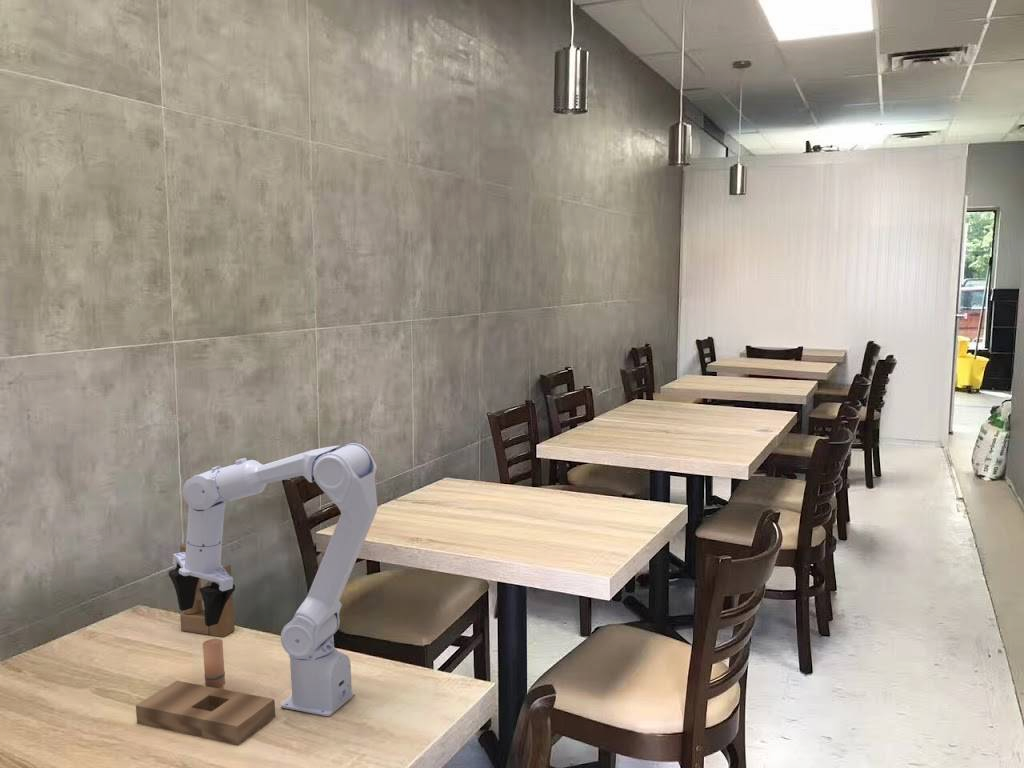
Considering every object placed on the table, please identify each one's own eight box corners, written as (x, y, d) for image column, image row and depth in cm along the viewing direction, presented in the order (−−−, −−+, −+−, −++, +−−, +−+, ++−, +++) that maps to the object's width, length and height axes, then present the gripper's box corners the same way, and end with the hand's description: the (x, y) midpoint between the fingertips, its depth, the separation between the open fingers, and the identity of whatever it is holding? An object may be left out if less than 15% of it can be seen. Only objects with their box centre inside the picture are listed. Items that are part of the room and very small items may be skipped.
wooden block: (223, 638, 167) (218, 550, 165) (180, 631, 170) (174, 545, 168) (235, 630, 170) (230, 545, 168) (193, 624, 174) (187, 540, 172)
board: (275, 716, 135) (274, 699, 135) (238, 745, 127) (237, 726, 126) (178, 697, 142) (176, 680, 142) (136, 723, 134) (135, 705, 133)
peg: (230, 689, 145) (227, 639, 144) (216, 698, 141) (213, 647, 140) (214, 686, 146) (211, 637, 145) (201, 695, 143) (198, 645, 142)
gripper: (158, 533, 142) (153, 608, 144) (208, 558, 134) (202, 638, 136) (195, 525, 148) (190, 598, 150) (246, 549, 140) (239, 626, 142)
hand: (198, 616), depth 143 cm, fingers open, 7 cm apart
